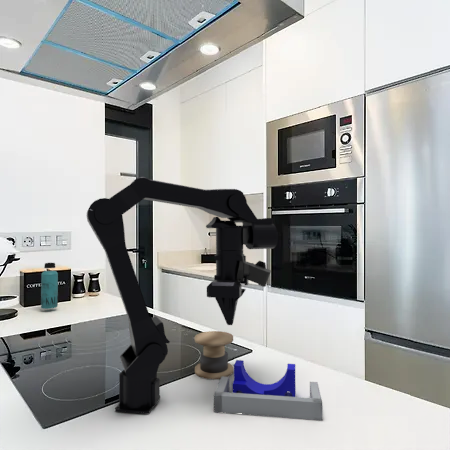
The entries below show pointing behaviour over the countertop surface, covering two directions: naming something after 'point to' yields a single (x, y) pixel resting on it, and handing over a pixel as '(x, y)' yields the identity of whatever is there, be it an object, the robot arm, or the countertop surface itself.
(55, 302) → the beverage bottle
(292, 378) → the cable clip
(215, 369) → the bobbin
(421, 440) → the countertop surface
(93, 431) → the countertop surface
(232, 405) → the gray u-shaped bracket
